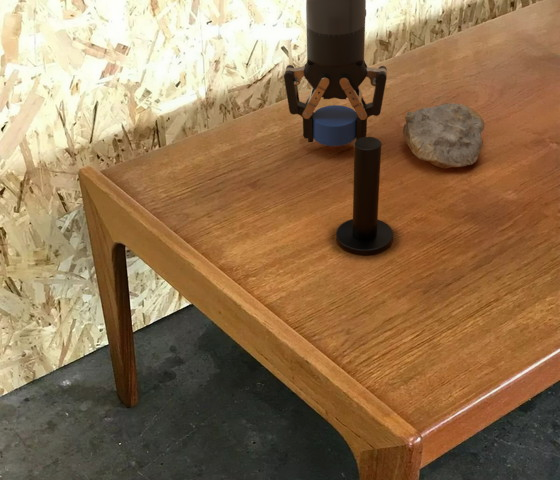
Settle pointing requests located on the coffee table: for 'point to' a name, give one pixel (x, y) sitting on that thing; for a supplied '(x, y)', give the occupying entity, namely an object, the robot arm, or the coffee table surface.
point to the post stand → (365, 204)
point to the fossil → (445, 134)
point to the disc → (334, 125)
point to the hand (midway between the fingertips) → (335, 140)
